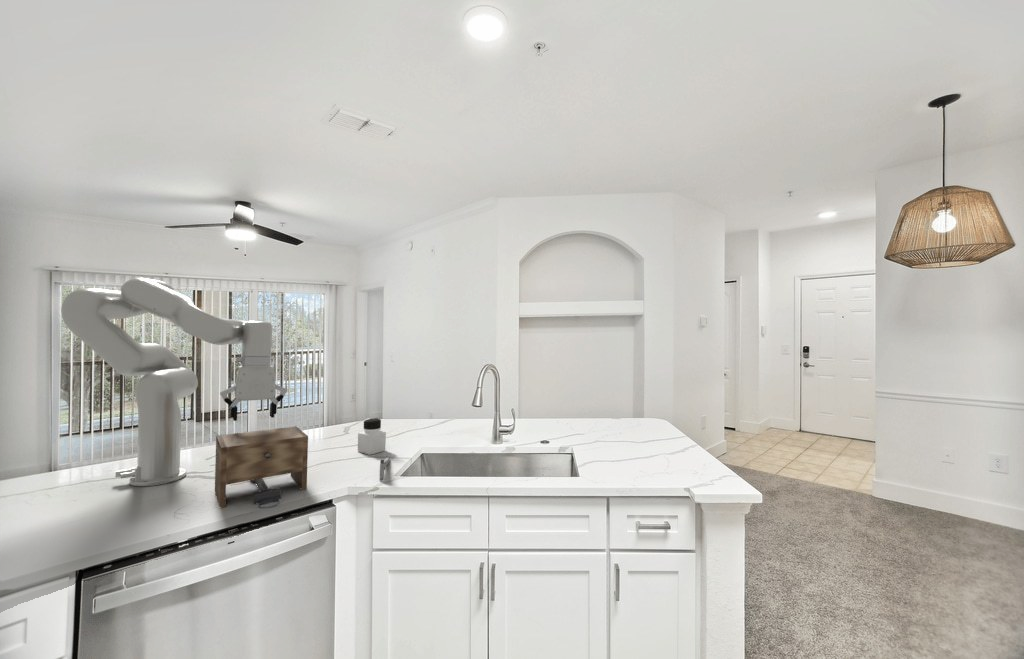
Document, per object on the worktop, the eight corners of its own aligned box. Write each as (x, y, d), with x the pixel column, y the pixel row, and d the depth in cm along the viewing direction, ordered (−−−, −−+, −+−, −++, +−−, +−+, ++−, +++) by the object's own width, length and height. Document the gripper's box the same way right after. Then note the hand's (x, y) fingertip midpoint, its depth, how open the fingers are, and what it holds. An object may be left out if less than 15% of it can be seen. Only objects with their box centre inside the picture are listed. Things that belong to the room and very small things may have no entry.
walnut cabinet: (220, 509, 102) (221, 448, 102) (214, 490, 114) (216, 435, 114) (307, 491, 115) (309, 437, 115) (294, 475, 127) (296, 426, 127)
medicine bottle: (385, 450, 154) (386, 418, 154) (370, 455, 148) (370, 421, 148) (372, 447, 158) (373, 416, 158) (357, 451, 152) (358, 419, 152)
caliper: (383, 481, 124) (383, 460, 124) (379, 482, 124) (379, 461, 124) (389, 460, 144) (390, 442, 144) (386, 460, 144) (386, 442, 144)
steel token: (270, 510, 103) (270, 506, 103) (254, 508, 104) (254, 504, 104) (282, 503, 108) (282, 499, 108) (267, 501, 108) (267, 497, 108)
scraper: (254, 504, 106) (254, 480, 106) (239, 473, 127) (240, 453, 127) (280, 498, 109) (281, 476, 109) (262, 469, 131) (262, 450, 131)
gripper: (222, 363, 117) (220, 423, 117) (290, 362, 128) (288, 417, 128) (220, 361, 123) (217, 418, 123) (285, 360, 134) (283, 413, 134)
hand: (253, 418), depth 125 cm, fingers open, 9 cm apart
